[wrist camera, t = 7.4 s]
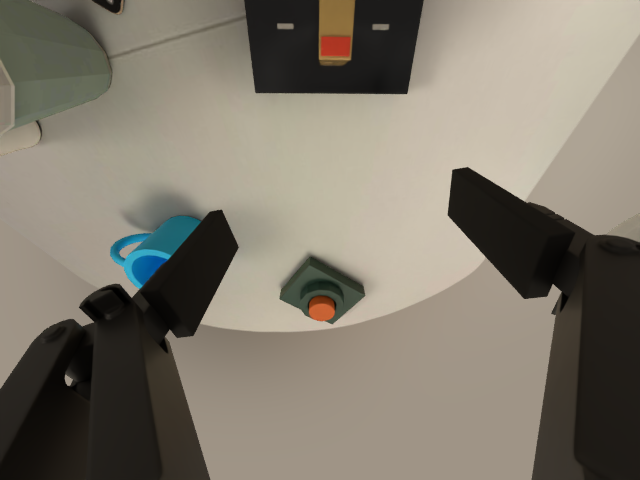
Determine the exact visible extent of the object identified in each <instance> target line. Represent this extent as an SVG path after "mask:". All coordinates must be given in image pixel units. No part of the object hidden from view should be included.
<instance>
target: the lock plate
mask: <svg viewBox="0 0 640 480" xmlns="http://www.w3.org/2000/svg"><path fill="white" fill-rule="evenodd" d="M244 1H245V10H246V18H247V26H248V35H249V43H250V52H251V60H252V68H253V77H254V85H255V93H336V94H407V92H408V87H409V81H410V75H411V69H412V64H413V58H414V52H415V46H416V41H417V35H418V29H419V23H420V18H421V12H422V6H423V0H355V10H354V24H353V39H352V54H351V60H350V61H349V62H347V63H346V64H344V65H343V66H337V65H320V62H319V0H244Z"/></svg>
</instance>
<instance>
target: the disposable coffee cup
mask: <svg viewBox="0 0 640 480" xmlns="http://www.w3.org/2000/svg"><path fill="white" fill-rule="evenodd" d="M111 76H112V71H111V68H110V64H109V61H108V58H107V55H106V53H105V51H104V50H103V49H102V48H101V46H100V45H99V44H98V42H97V41H96V40H95V38H94V37H93V36H92V35H91V34H90V33H88V32H87V30H85V29H84V28H82V27H81V26H79V25H78V24H76V23H74V22H73V21H71V20H70V19H68V18H67V17H65V16H63V15H61V14H59V13H57V12H54V11H52V10H50V9H47V8H45V7H43V6H40V5H38V4H36V3H34V2H31V1H29V0H0V136H2V135H3V134H4V133H6V132H7V131H9V130H12V129H15V128H18V127H20V126H23V125H26V124H28V123H31V122H34V121H37V120H39V119H42V118H45V117H48V116H50V115H53V114H56V113H58V112H61V111H64V110H67V109H69V108H72V107H75V106H77V105H80V104H83V103H86V102H88V101H91V100H94V99H96V98H98V97H99V96H100V95H102V94H103V93H104V92H106V91H107V89H108V88H109V87H110V81H111Z"/></svg>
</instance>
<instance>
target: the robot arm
mask: <svg viewBox="0 0 640 480" xmlns="http://www.w3.org/2000/svg"><path fill="white" fill-rule="evenodd" d="M448 216H449V217H450V218H451V219H452V220H453V222H454V223H455V224H456V225H457V226H458V227H459V228H460V229H461V230H462V231H463V232H464V234H465V235H466V236H467V237H468V238H469V239H470V240H471V241H472V242H473V243H474V244H475V246H476V247H477V248H478V249H479V250H480V251H481V252H482V253H483V254H484V255H485V257H486V258H487V259H488V260H489V261H490V262H491V263H492V264H493V265H494V266H495V267H496V269H497V270H499V272H500V273H501V274H502V275H503V276H504V277H505V278H506V279H507V280H508V282H509V283H510V284H511V285H512V286H513V287H514V288H515V289H516V290H517V291H518V293H519V294H520V295H521V296H522V297H523V298H524V299H528V298H537V297H547V296H548V293H549V291H550V289H551V286H552V284H554V285H555V286H556V287H557V288H558V289H559V290H561V291H562V292H561V294H560V297H559V299H558V300H557V303H556V305H555V307H554V309H553V311H552V314H554V315H556V318H555V324H554V331H553V339H552V344H551V351H550V358H549V365H548V372H547V379H546V386H545V392H544V399H543V406H542V413H541V420H540V427H539V434H538V440H537V447H536V454H535V461H534V468H533V474H532V480H640V242H637V241H635V240H632V239H629V238H625V237H620V236H614V235H593V234H591V233H589V232H588V231H586V230H584V229H582V228H581V227H579V226H577V225H575V224H574V223H572V222H570V221H569V220H567V219H565V220H564V218H563V217H562V216H560V215H558V214H555V212H553V211H551V210H549V209H548V208H546V207H544V206H540V205H537V204H534V203H531V202H529V203H526V202H524V201H523V200H521V199H519V198H518V197H516V196H514V195H513V194H511V193H510V192H508V191H506V190H505V189H503V188H501V187H500V186H498V185H496V184H495V183H493V182H491V181H490V180H488V179H486V178H485V177H483V176H481V175H480V174H478V173H476V172H475V171H473V170H472V169H470V168H468V167H466V168H460V169H454V170H452V179H451V189H450V198H449V207H448ZM238 248H239V247H238V244H237V242H236V240H235V238H234V235H233V233H232V231H231V229H230V227H229V224H228V222H227V220H226V218H225V216H224V213H223V211H222V210H217V211H211V212H209V213H208V214H207V216H206V217H205V218H204V219H203V220H202V221H201V223H200V224H199V225H198V226H197V227H196V228H195V229H194V231H193V232H192V233H191V234H190V235H189V236H188V237H187V239H186V240H185V241H184V242H183V243H182V244H181V245H180V247H179V248H178V249H177V250H176V251H175V252H174V254H173V255H172V256H171V257H170V258H169V259H168V260H167V261H166V262H165V263H163V264H162V265H161V266H160V267H159V268H158V269H157V270H156V271H155V274H153V275H152V276H151V277H150V278H149V280H147V282H146V283H145V284H144V285H143V286H142V287H141V288H140V290H139V291H138V292H137V293H136V294H135V295H134V296H133V297H132V298H131V297H130V296H129V294H128V293H127V292H126V291H125V290H124V289H123V287H122V286H121V285H120V284H112V285H108V286H105V287H103V288H101V289H99V290H97V291H95V292H94V293H92V294H91V295H89V296H88V297H87V298H85V300H84V301H83V302H82V303H81V304H80V307H79V308H80V309H81V310H82V311H83V312H84V313H85V314H86V315H88V316H89V317H90V318H91V319H92V320H93V321H94V323H91V324H88V325H85V326H83V327H82V326H81V325H79V324H78V323H77V322H76V321H75V320H74V319H68V320H65V321H61V322H59V323H57V324H54V325H52V326H50V328H47V329H46V330H44V331H43V332H42V333H41V334H40V335H39V336H38V337H37V338H36V339H35V340H34V341H33V342H32V343H31V345H30V346H29V348H28V349H27V351H26V352H25V354H24V355H23V357H22V358H21V360H20V361H19V362H18V364H17V366H16V367H15V368H14V370H13V371H12V373H11V374H10V376H9V377H8V379H7V380H6V382H5V383H4V385H3V386H2V388H1V389H0V480H210V477H209V474H208V471H207V467H206V464H205V460H204V457H203V454H202V451H201V447H200V444H199V440H198V437H197V433H196V430H195V427H194V423H193V420H192V417H191V413H190V410H189V407H188V403H187V400H186V397H185V393H184V390H183V387H182V383H181V380H180V376H179V373H178V370H177V367H176V363H175V360H174V356H173V353H172V350H171V346H170V343H169V341H168V340H167V339H166V338H165V335H166V334H167V332H168V331H169V329H170V330H171V331H172V333H173V334H174V335H175V336H176V337H177V338H180V337H188V336H193V335H194V334H195V332H196V330H197V328H198V326H199V324H200V322H201V320H202V318H203V316H204V314H205V312H206V310H207V308H208V306H209V304H210V302H211V300H212V298H213V296H214V295H215V293H216V291H217V289H218V287H219V285H220V283H221V281H222V279H223V277H224V275H225V273H226V271H227V269H228V267H229V265H230V263H231V261H232V259H233V257H234V256H235V254H236V252H237V250H238ZM65 374H66V375H67V376H69V377H70V378H72V379H73V381H72V383H71V385H70V386H67V384H66V382H65Z"/></svg>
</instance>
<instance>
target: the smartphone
mask: <svg viewBox="0 0 640 480" xmlns="http://www.w3.org/2000/svg"><path fill="white" fill-rule="evenodd" d="M92 1H93V2H95V3H96V4H98V5H100V6H101V7H103V8H105V9H106V10H108V11H110V12H111V13H114V14H121V13H122V11H123V2H124V0H92Z"/></svg>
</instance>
